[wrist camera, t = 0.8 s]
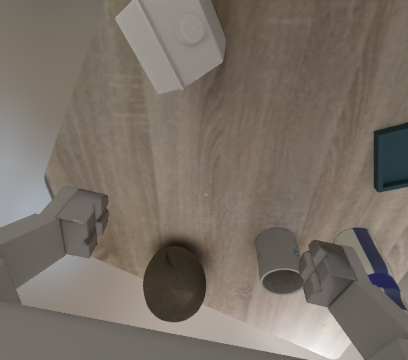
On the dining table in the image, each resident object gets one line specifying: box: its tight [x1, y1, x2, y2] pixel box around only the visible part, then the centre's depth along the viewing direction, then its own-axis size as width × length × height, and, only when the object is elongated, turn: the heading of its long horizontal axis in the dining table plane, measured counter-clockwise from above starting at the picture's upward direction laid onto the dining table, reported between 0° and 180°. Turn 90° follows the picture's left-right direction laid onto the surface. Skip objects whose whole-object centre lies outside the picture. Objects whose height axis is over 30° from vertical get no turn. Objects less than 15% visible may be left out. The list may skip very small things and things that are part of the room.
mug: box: [256, 228, 305, 295], centre depth 54 cm, size 12×9×10 cm
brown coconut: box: [143, 246, 206, 322], centre depth 56 cm, size 14×14×15 cm
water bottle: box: [334, 228, 408, 314], centre depth 45 cm, size 8×9×25 cm
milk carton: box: [115, 0, 226, 94], centre depth 27 cm, size 7×7×19 cm
